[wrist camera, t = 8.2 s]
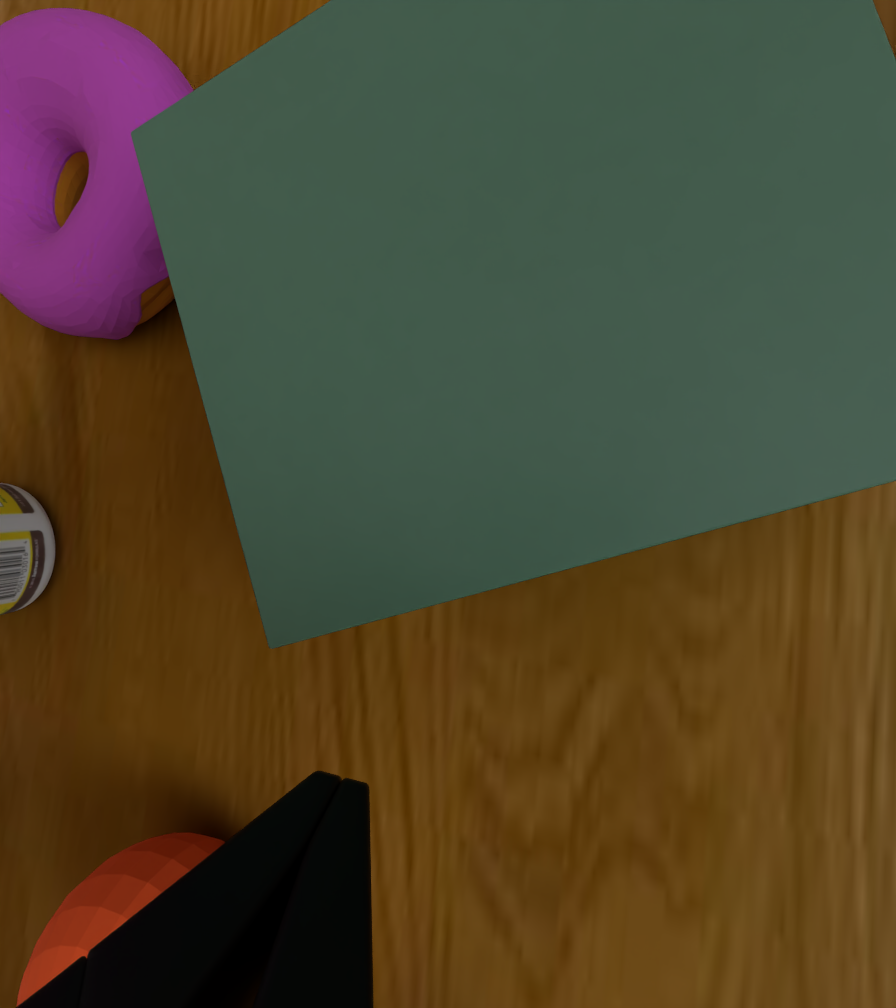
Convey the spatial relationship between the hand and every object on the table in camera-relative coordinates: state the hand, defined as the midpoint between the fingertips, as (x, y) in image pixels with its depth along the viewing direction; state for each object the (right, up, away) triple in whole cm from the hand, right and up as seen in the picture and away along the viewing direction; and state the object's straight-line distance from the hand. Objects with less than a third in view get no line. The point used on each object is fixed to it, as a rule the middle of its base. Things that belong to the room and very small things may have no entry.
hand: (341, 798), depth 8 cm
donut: (-11, +16, +13) cm, 23 cm away
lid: (+2, +9, +2) cm, 9 cm away
